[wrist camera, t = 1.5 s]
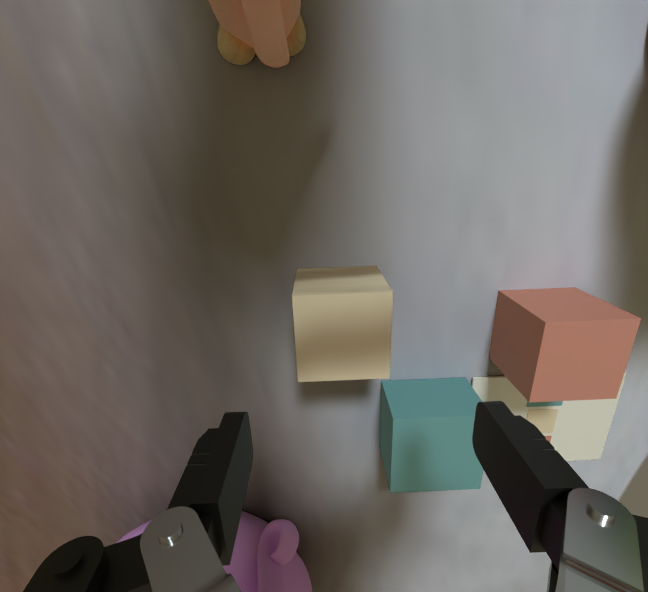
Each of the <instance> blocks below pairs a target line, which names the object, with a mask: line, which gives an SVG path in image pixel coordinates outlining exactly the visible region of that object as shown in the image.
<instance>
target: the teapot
mask: <svg viewBox="0 0 648 592" xmlns="http://www.w3.org/2000/svg"><path fill="white" fill-rule="evenodd" d="M152 520H153V519H152ZM152 520H150V521H148V522H146V523H144V524H142V525H140V526H138V527H136V528H135V529H133V530H132V531H130V532H129V533H127V534H126V535H124V536H123V537H122V538H121V539H120V540H119V541H117V542H116V543H118V542H121V541H124V540H127V539H130V538H133V537H135V536H138V535H140V534H142V533H143V531H144V530H145V528H146V526H147V525H148V524H149V523H150V522H151V521H152ZM298 544H299V533H298V530H297V528H296V526H295V525H294V524H293V523H292V522H291V521H289V520H286V519H277V520H274V521H271V522H270V523H267V522H266V521H264V520H263V519H261V518H259V517H256V516H254V515H252V514H250V513H247V512H244V511H242V513H241V517H240V522H239V526H238V531H237V535H236V540H235V544H234V549H233V553H232V558H231V562H230V565H227V566H223V567H224V569H225V571H226V573H227V574H229V573H230V574H231V575H232V576H233V577H234V579H235V581H236V583H237V584H238V586H239V588H240V590H241V592H312V585H311V581H310V577H309V574H308V571H307V569H306V567H305V564H304V562H303V561H302V559H301V558H300V556H299V555H298V553H297V552H296V550H297V548H298Z"/></svg>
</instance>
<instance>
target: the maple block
mask: <svg viewBox="0 0 648 592" xmlns="http://www.w3.org/2000/svg"><path fill="white" fill-rule="evenodd" d="M292 303H293V317H294V332H295V346H296V360H297V374H298V382H313V381H336V380H360V379H384V378H390V357H391V330H392V303H393V291H392V290H391V288H390V286H389V285H388V283H387V282H386V280H385V278H384V277H383V275H382V274H381V272H380V270H379V269H378V267H377V266H355V267H329V268H304V269H297V271H296V277H295V282H294V288H293V293H292Z"/></svg>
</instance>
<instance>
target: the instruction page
mask: <svg viewBox="0 0 648 592" xmlns="http://www.w3.org/2000/svg"><path fill="white" fill-rule="evenodd" d="M626 375H627V372H626V371H625V372H624V376H623V379H622V382H621V385H620V388H619V391H618V395H617V398H616V399H596V400H574V401H551V402H528V401H527V400H526V398H525V397H524V396H523V395H522V394H521V393H520V392H519V391H518V390H517V389H516V387H515V386H514V385H513V384H512V383H511V382H510V381H509V380H508V379H507V378H506V376H489V377H472V383H471V386H472V387H473V389H474V390H475V392H476V393H477V394H478V396H479V397H480V399H481V400H482V401H483V402H486V401H502V402H504V403H505V405H506V406H507V407H508V408H509V409H510V411H511V412H512V413H513V414H514V416H518V415H520V416H522V417H523V418H525V419H526V420H528V421H529V422H531V423H532V424H534V425H535V426H536V427H537V428H538V429H539V431H540V432H541V433H542V434H543V435H544V436H545V437H546V440H548V441H549V442H550V443H551V444H552V446H553V447H554V449H555V450H557V451H558V452H559V454H560V455H561V456H562V457H563V458H564V459H565V461H573V460H595V459H600V458H601V455H602V452H603V448H604V445H605V442H606V439H607V436H608V432H609V429H610V426H611V423H612V420H613V416H614V413H615V410H616V407H617V404H618V400H619V397H620V394H621V391H622V388H623V384H624V381H625V378H626Z"/></svg>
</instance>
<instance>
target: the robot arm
mask: <svg viewBox="0 0 648 592" xmlns="http://www.w3.org/2000/svg"><path fill="white" fill-rule="evenodd" d="M472 443H473V449H474V452H475V455H476V457H477V459H478V460H479V462H480V464H481V466H482V468H483V469H484V471H485V473H486V475H487V476H488V478H489V480H490V482H491V484H492V485H493V487H494V489H495V491H496V492H497V494H498V496H499V498H500V500H501V501H502V503H503V505H504V507H505V508H506V510H507V512H508V514H509V516H510V517H511V519H512V521H513V523H514V524H515V526H516V528H517V530H518V532H519V533H520V535H521V537H522V539H523V540H524V542H525V544H526V546H527V548H528V549H529V551H530V553H531V552H546V553H547V554H548V556H549V557H550V559H551V564H550V568H549V575H548V584H547V592H648V518H645V517H640V516H636V515H632V514H631V513H630V512H629V511H628V509H627V508H626V507H624V506H623V505H622V504H621V503H620V502H618V501H617V500H616V499H614V498H612V497H611V496H609V495H607V494H605V493H603V492H600V491H597V490H594V489H590V488H589V487H588V486H587V485H586V484H585V483H584V481H583V480H582V479H581V478H580V477H579V476H578V474H577V473H576V472H575V471H574V470H573V469H572V467H571V466H570V465H569V464H568V463H567V462H566V461H565V459H564V458H563V457H562V456H561V455H560V454H559V452H558V451H557V450H555V449H554V447H553V446H552V444H551V443H550V442H549V441H548V440H546V437H545V436H544V435H543V434H542V433H541V432H540V431H539V429H538V428H537V427H536V426H535V425H534V424H532V423H531V422H529V421H528V420H526V419H525V418H523V417H522V416H520V415H518V416H514V414H513V413H512V412H511V411H510V409H509V408H508V407H507V406H506V405H505V403H504V402H502V401H486V402H478V403H477V406H476V412H475V420H474V428H473V435H472ZM252 461H253V445H252V438H251V430H250V423H249V416H248V413H247V412H226V413H225V414H224V416H223V418H222V421H221V423H220V426H219V428H214V429H208V430H207V431H206V432H205V433H204V434H203V435H202V436H201V437H200V438H199V439H198V441H197V443H196V446H195V448H194V450H193V452H192V455H191V457H190V459H189V461H188V465H187V466H186V468H185V470H184V473H183V475H182V477H181V479H180V482H179V484H178V486H177V488H176V491H175V493H174V495H173V497H172V500H171V502H170V504H169V506H168V508H167V510H166V511H164V512H162V513H160V514H159V515H157V516H156V517H155V518H154V519H153V520H152V521H151V522H150V523H149V524H148V525H147V526H146V528H145V530H144V531H143V533H142V534H140V535H138V536H135V537H133V538H130V539H127V540H124V541H121V542H118V543H115V544H113V545H110V546H107V547H104V546H103V543H102V542H101V540H100V539H99V538H97V537H94V536H83V537H79V538H76V539H73V540H71V541H69V542H67V543H65V544H63V545H62V546H60V547H59V548H57V549H56V550H55V551H54V552H52V553H51V554H50V555H49V556H48V557H47V558H46V559H45V560H44V561H43V562H42V564H41V565H40V566H39V568H38V569H37V571H36V572H35V574H34V575H33V577H32V578H31V580H30V582H29V583H28V585H27V586H26V588H25V589H24V591H23V592H241V590H240V588H239V586H238V584H237V583H236V581H235V579H234V577H233V576H232V575H231V574H230V573H229V574H227V573H226V571H225V569H224V567H223V566H227V565H230V562H231V558H232V553H233V549H234V544H235V540H236V535H237V531H238V526H239V522H240V517H241V513H242V508H243V504H244V499H245V495H246V490H247V486H248V481H249V476H250V472H251V467H252Z"/></svg>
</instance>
